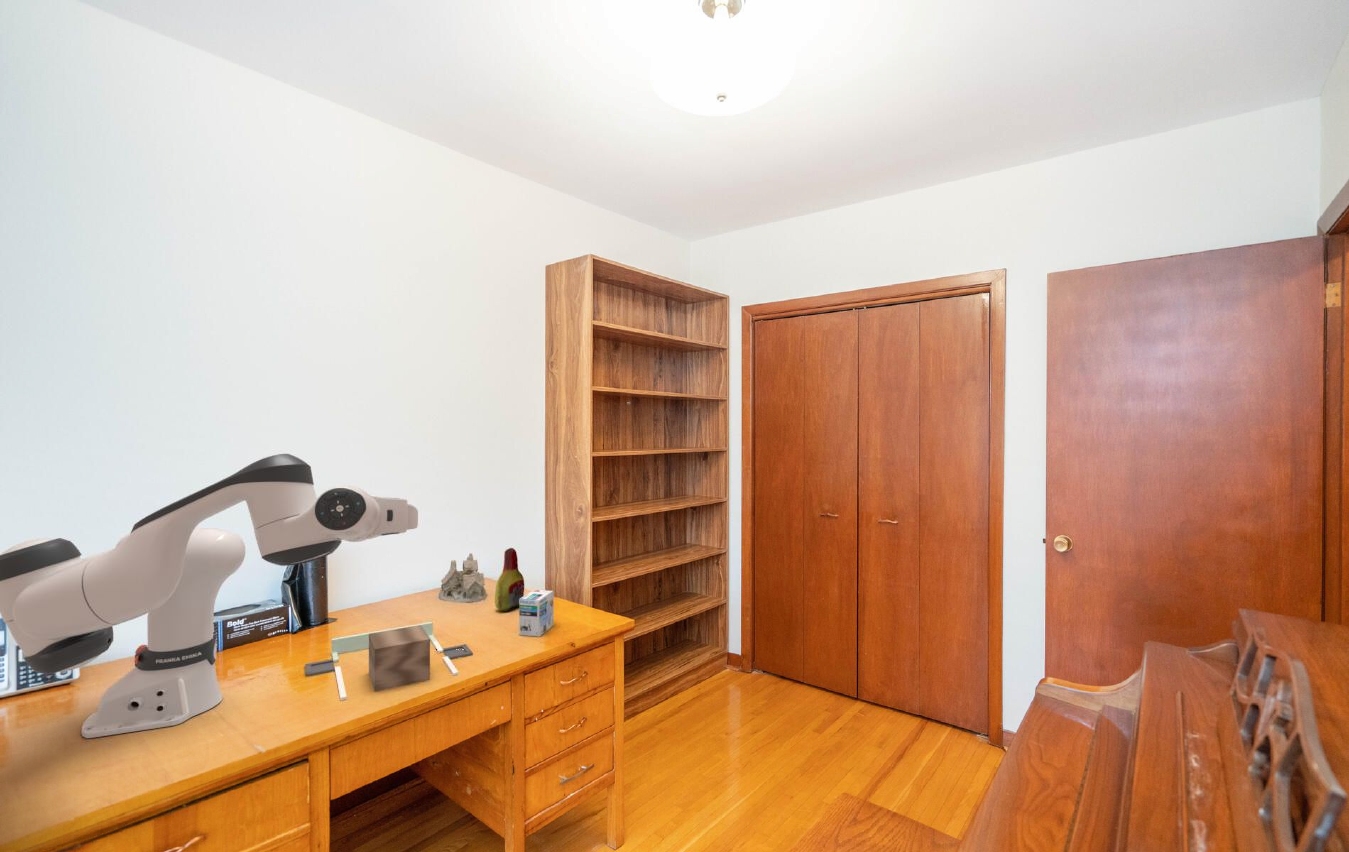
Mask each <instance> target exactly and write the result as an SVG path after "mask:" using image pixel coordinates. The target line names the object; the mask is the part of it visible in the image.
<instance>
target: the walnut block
mask: <svg viewBox="0 0 1349 852" xmlns="http://www.w3.org/2000/svg"><path fill="white" fill-rule="evenodd" d="M368 675H369V678H370V681H371V685H372V688H373V692H374V693H376V692H381V691H384V690H385V691H386V690H390V689H394V688H398V687H399V688H400V687H403V686H409V685H414V684H416V683H422V682H426V681H430V680H431V641H430V638H429V637H428V635H427V634H426V632H425V631H424V629H423V628H422V626H421V625H417V626H411V627H405V628H400V629H394V630H388V631H382V632H376V633H370V634H369V648H368Z"/></svg>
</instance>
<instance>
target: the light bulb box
mask: <svg viewBox="0 0 1349 852" xmlns="http://www.w3.org/2000/svg"><path fill="white" fill-rule="evenodd" d="M554 595H555V593H554V590H544V589H532V591H530V592H528V593H526V594H524V596H523V597H522V598H520V599H519V607H518V609H519V611H518V616H519V617H518V618H519V623H518V624H519V625H518V627H519V629H518V630H519V631H518V632H519V636H526V637H528V636H529V637H538V638H539V637H541V636H542V635H543V634H544V633H546V632H547V631H549V629H552V627H554V624H555V623H554V617H555V616H554V607H555V606H554V605H555V603H554V601H555V599H554V598H555V597H554Z"/></svg>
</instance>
